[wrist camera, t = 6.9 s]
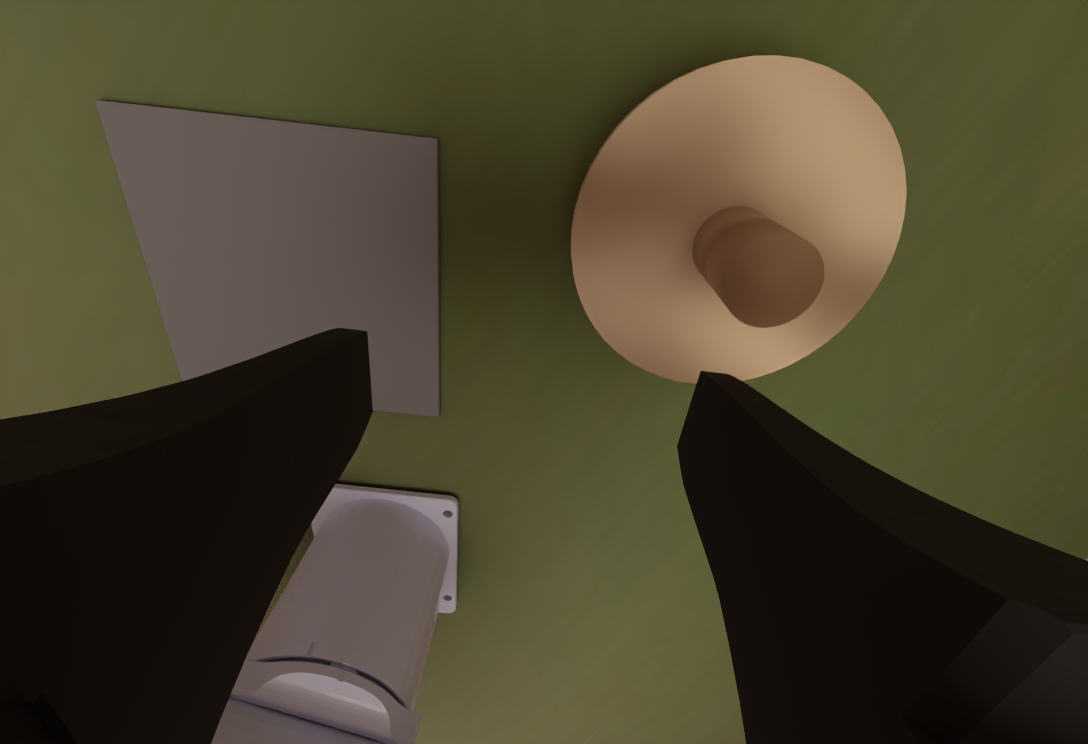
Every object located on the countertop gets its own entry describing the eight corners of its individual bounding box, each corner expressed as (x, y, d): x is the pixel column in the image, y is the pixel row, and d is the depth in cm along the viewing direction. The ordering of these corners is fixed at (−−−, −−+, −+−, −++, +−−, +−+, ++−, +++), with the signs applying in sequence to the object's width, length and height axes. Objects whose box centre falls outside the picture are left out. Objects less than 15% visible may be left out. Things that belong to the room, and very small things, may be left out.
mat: (440, 413, 23) (438, 417, 23) (189, 387, 23) (184, 390, 23) (438, 138, 17) (436, 138, 17) (101, 100, 17) (94, 99, 17)
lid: (802, 394, 19) (861, 469, 15) (545, 346, 18) (539, 411, 14) (960, 99, 14) (1109, 99, 10) (614, 20, 13) (633, -11, 9)
